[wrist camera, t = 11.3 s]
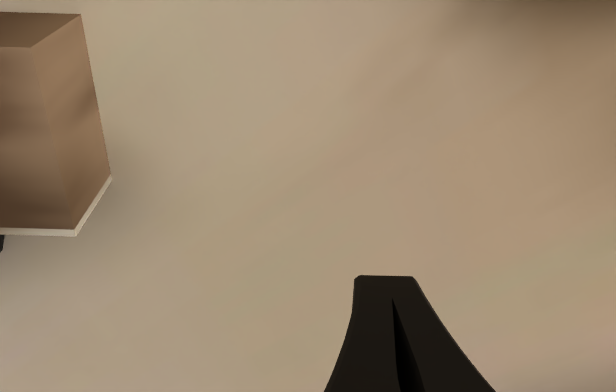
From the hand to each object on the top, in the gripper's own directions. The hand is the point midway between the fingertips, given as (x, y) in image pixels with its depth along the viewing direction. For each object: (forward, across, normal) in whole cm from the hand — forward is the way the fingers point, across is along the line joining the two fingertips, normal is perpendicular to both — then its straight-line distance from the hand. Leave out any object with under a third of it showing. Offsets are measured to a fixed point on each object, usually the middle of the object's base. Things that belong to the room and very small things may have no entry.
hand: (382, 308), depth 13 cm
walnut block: (+8, +12, +2) cm, 15 cm away
